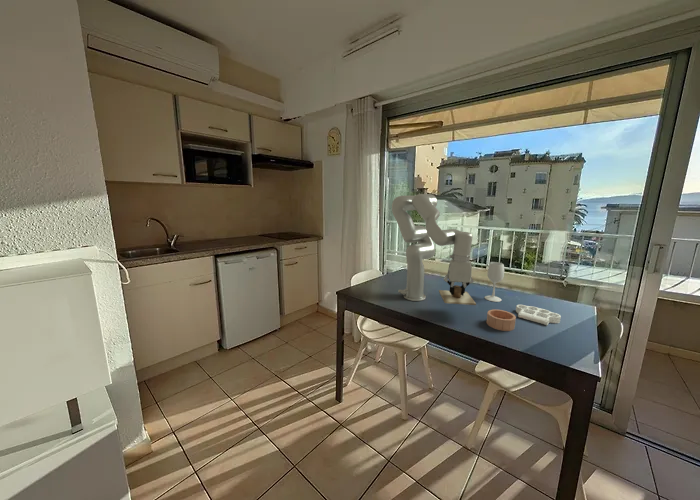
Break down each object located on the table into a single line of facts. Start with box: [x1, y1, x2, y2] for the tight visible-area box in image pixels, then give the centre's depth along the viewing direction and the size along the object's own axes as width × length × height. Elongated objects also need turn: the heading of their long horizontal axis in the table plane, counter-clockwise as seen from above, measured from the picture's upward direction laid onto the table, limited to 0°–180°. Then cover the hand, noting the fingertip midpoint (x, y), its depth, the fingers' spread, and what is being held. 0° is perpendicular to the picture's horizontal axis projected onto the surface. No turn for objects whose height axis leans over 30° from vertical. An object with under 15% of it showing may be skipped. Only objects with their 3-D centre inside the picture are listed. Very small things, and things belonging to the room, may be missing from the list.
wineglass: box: [484, 261, 505, 303], centre depth 149 cm, size 9×9×21 cm
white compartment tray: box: [515, 304, 562, 326], centre depth 128 cm, size 3×18×15 cm
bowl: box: [486, 308, 517, 332], centre depth 121 cm, size 11×11×5 cm
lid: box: [438, 284, 477, 306], centre depth 129 cm, size 14×14×6 cm
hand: (456, 293), depth 130 cm, fingers closed on lid, 4 cm apart
